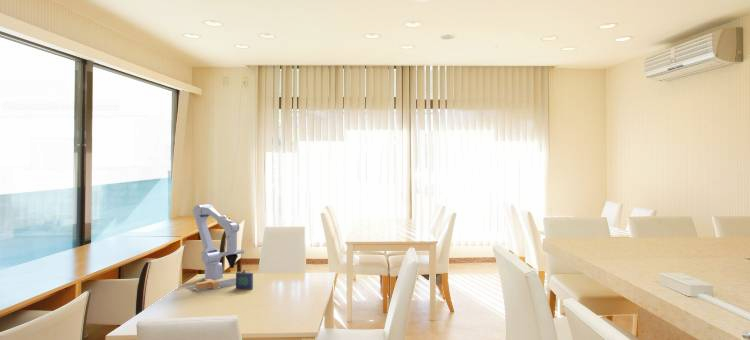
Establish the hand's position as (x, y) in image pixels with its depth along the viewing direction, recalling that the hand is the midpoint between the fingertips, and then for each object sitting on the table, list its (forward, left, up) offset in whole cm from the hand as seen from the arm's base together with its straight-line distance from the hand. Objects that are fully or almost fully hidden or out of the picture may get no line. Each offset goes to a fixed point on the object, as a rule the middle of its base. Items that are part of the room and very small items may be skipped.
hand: (231, 267), depth 259 cm
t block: (+16, +1, -8) cm, 18 cm away
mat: (+8, +1, -8) cm, 12 cm away
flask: (+2, +17, -9) cm, 19 cm away
